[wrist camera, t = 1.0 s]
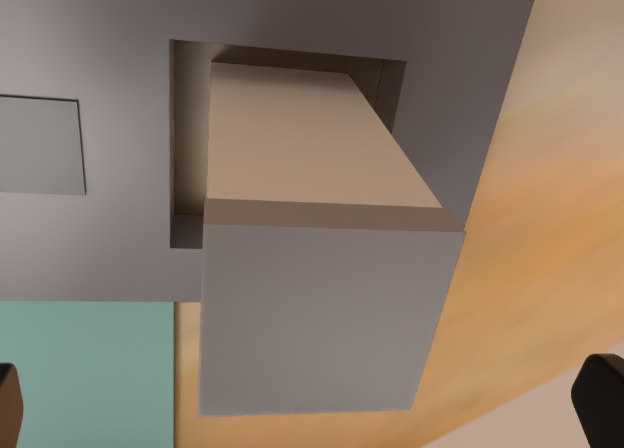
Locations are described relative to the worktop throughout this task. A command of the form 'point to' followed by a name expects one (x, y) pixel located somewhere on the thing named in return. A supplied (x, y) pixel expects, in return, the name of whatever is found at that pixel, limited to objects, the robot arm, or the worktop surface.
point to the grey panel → (160, 122)
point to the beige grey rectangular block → (314, 251)
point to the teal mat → (92, 372)
